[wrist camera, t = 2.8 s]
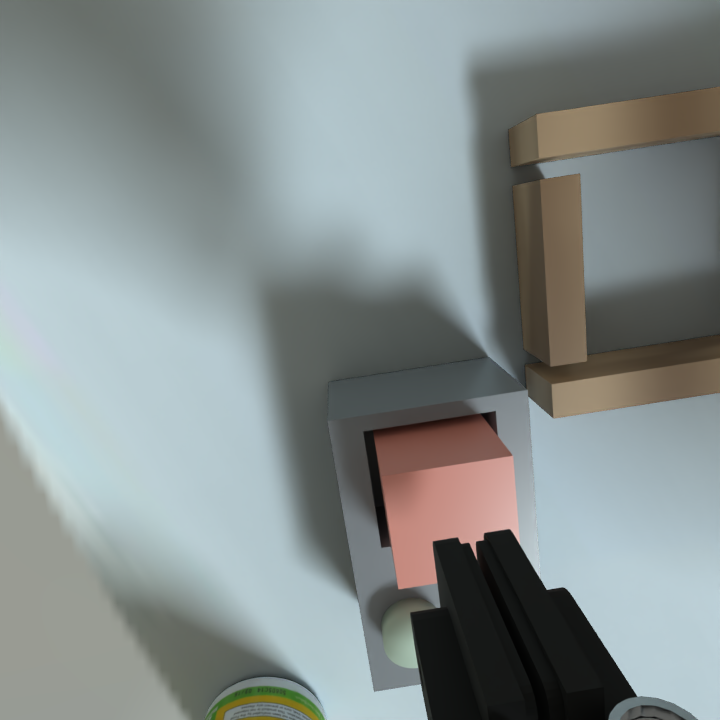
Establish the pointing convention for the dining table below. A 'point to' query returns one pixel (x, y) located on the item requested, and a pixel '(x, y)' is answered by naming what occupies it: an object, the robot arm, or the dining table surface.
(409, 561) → the button
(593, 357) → the wooden square frame
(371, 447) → the grey button box
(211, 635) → the dining table surface
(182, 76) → the dining table surface
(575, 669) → the robot arm
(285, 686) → the supplement bottle
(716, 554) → the dining table surface
